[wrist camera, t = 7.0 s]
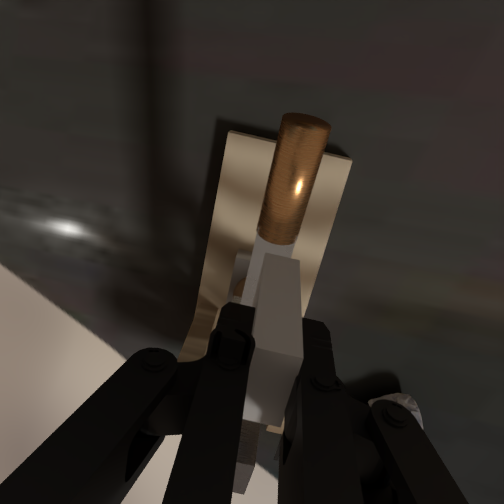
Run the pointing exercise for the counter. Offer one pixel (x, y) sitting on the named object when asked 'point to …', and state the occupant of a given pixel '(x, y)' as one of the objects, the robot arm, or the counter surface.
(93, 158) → the counter surface
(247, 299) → the lever
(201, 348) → the tan angle plate
